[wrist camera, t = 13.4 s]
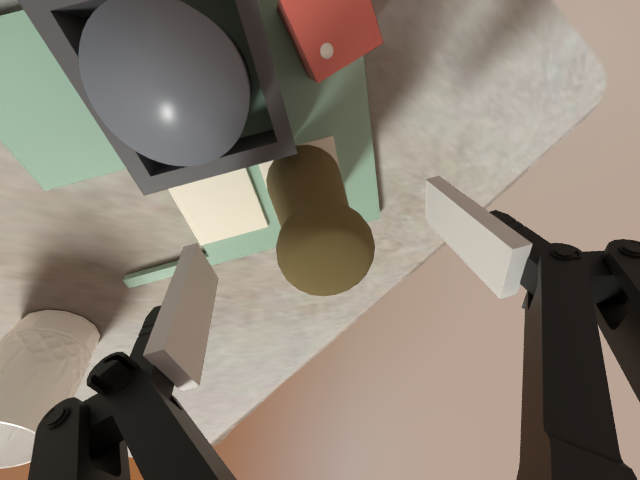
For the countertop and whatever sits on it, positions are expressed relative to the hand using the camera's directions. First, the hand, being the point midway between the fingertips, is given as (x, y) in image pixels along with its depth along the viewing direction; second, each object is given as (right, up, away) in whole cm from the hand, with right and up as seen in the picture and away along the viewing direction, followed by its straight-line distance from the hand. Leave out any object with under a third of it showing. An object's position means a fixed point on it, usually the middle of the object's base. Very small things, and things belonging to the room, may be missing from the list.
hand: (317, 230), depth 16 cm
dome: (-8, +9, +1) cm, 12 cm away
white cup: (-26, -10, +12) cm, 30 cm away
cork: (-1, +4, +7) cm, 8 cm away
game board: (-8, +6, +5) cm, 11 cm away
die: (0, +13, +1) cm, 13 cm away
